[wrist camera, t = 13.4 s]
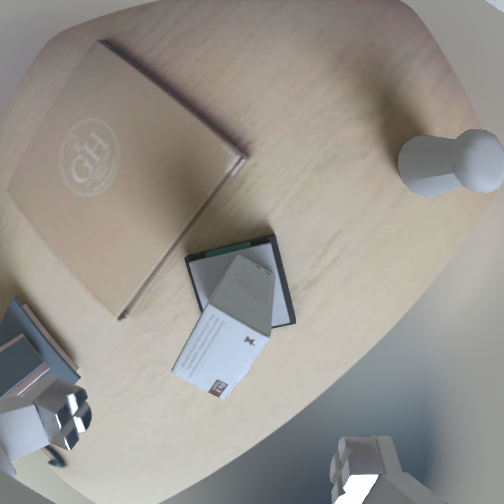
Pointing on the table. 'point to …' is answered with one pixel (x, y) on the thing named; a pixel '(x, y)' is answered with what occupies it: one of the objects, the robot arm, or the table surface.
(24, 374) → the desk lamp
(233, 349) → the cosmetic box
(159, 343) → the table surface
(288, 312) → the scale
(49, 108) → the table surface
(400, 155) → the salt shaker
